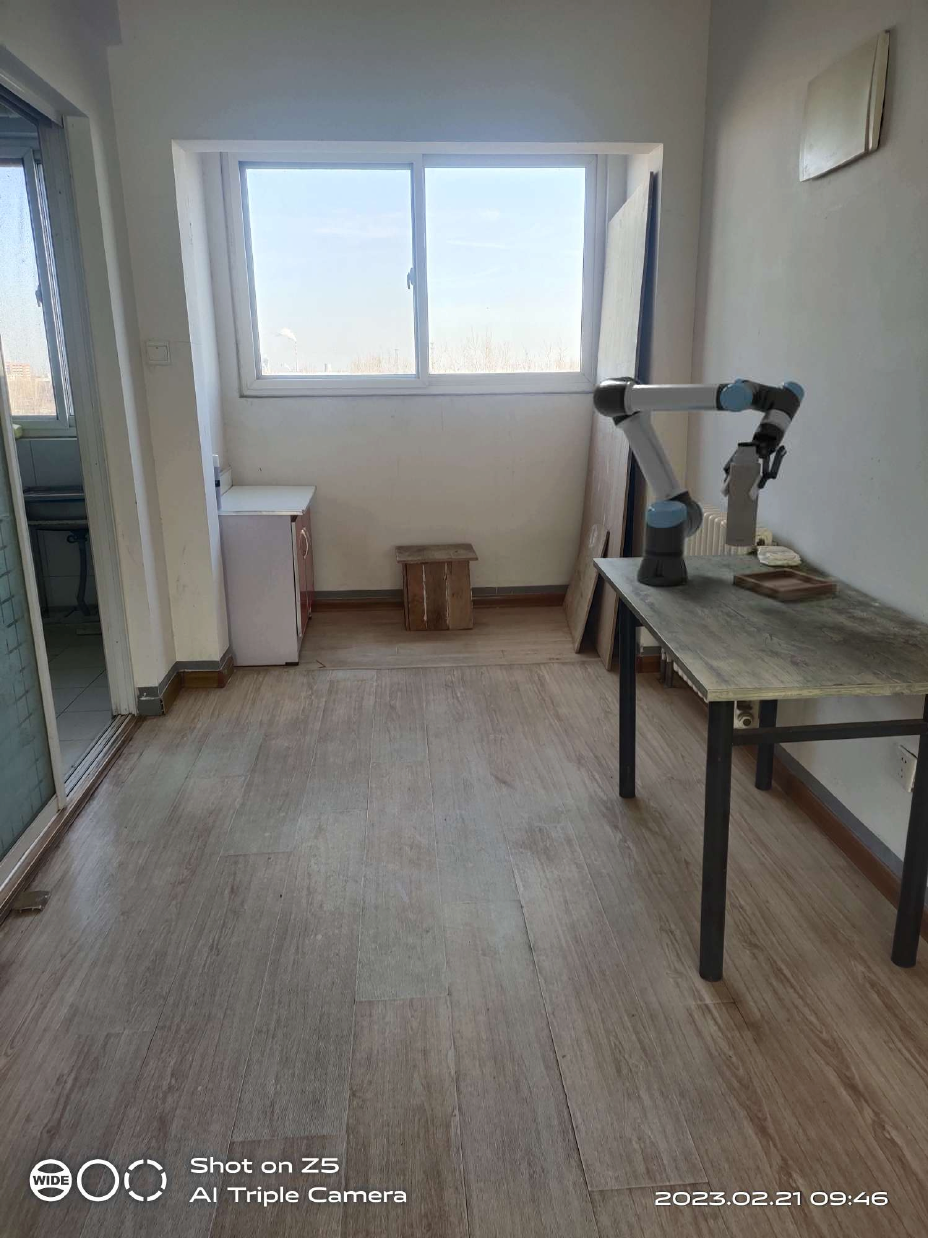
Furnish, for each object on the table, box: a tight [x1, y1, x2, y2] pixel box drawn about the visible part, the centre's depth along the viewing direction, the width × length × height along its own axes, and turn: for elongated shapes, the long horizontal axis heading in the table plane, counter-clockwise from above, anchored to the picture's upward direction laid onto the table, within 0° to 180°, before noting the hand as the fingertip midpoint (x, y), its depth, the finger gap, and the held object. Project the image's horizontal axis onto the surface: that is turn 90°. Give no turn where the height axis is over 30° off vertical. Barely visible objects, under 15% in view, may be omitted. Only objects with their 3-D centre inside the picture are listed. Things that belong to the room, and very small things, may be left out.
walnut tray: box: [732, 567, 838, 603], centre depth 243 cm, size 20×20×3 cm
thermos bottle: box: [724, 441, 762, 548], centre depth 230 cm, size 8×8×28 cm
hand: (737, 495), depth 228 cm, fingers closed on thermos bottle, 8 cm apart
